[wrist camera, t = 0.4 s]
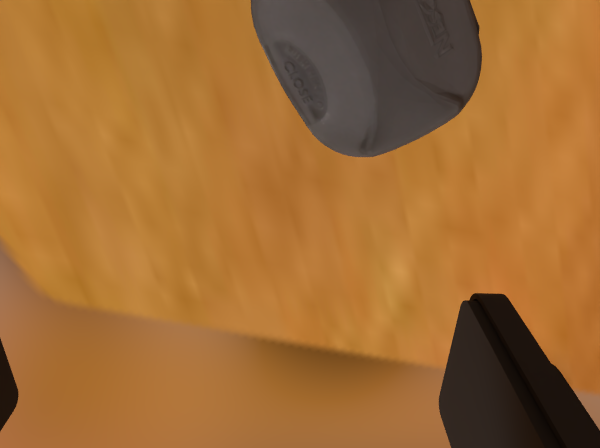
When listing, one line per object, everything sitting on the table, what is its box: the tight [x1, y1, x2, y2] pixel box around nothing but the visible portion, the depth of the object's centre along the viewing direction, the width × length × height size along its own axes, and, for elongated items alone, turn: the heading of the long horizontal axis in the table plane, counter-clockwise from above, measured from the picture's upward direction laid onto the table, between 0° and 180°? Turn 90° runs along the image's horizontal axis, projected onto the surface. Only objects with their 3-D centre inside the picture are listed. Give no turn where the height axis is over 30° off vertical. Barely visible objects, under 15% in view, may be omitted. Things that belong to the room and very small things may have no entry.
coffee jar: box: [251, 0, 482, 157], centre depth 25 cm, size 10×8×19 cm
